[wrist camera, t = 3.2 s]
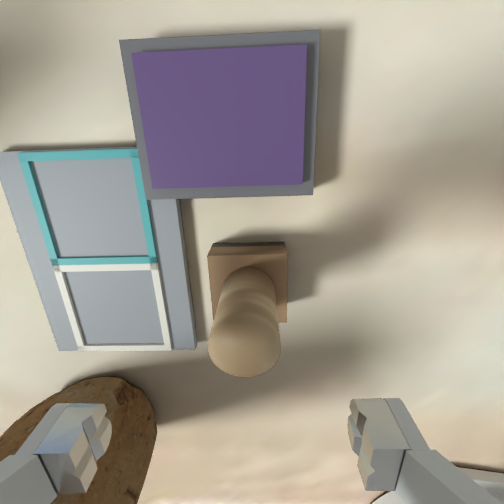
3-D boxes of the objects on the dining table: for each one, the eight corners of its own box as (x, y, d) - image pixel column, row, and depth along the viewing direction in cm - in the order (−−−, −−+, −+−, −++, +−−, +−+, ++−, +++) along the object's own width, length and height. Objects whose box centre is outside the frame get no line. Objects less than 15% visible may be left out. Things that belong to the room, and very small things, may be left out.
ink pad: (313, 42, 15) (322, 25, 13) (307, 190, 18) (314, 196, 16) (134, 51, 16) (114, 36, 13) (156, 194, 18) (142, 201, 16)
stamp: (284, 241, 19) (299, 301, 12) (283, 303, 21) (296, 389, 14) (213, 243, 20) (184, 303, 12) (218, 304, 21) (196, 389, 14)
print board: (172, 145, 17) (167, 145, 16) (197, 342, 23) (194, 351, 22) (1, 151, 18) (-13, 152, 17) (65, 344, 23) (57, 352, 22)
